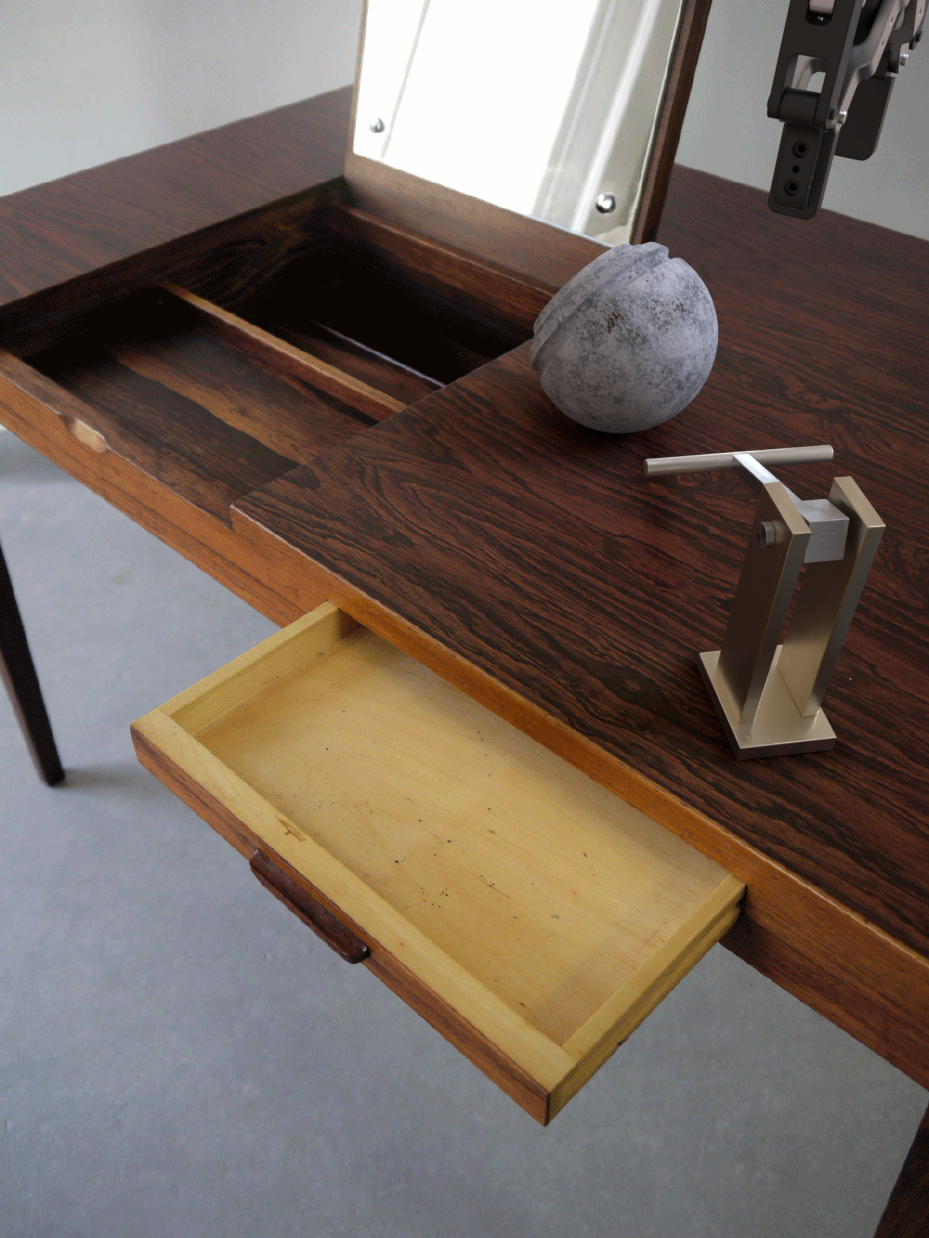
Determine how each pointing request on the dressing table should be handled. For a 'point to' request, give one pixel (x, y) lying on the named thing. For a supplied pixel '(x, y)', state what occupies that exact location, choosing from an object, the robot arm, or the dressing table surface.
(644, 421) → the decorative orb
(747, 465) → the tap lever
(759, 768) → the dressing table surface
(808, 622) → the bracket
